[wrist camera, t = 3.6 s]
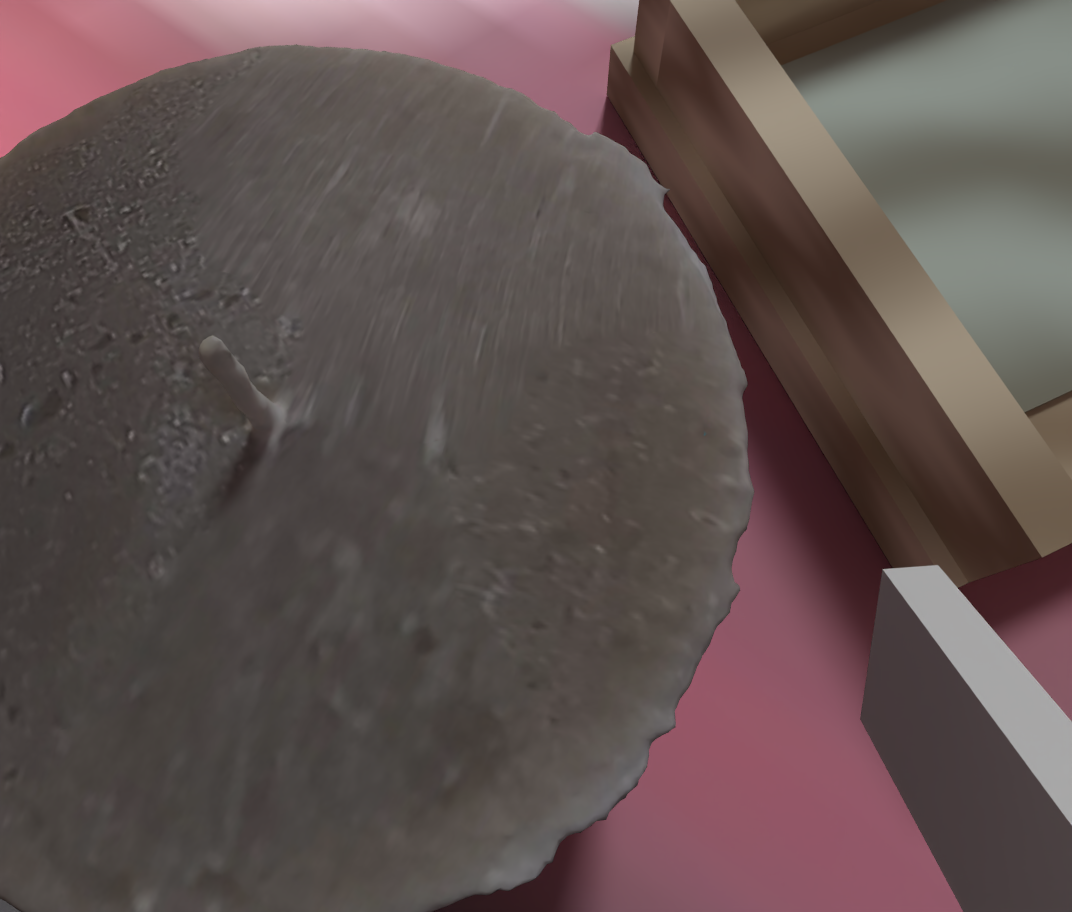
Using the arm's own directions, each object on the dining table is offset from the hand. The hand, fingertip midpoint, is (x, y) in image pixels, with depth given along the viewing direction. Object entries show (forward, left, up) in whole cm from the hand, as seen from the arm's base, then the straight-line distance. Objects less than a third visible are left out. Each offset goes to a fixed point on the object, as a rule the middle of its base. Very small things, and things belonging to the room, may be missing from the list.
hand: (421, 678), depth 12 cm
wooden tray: (-7, +20, -9) cm, 23 cm away
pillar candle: (-3, 0, -9) cm, 10 cm away
